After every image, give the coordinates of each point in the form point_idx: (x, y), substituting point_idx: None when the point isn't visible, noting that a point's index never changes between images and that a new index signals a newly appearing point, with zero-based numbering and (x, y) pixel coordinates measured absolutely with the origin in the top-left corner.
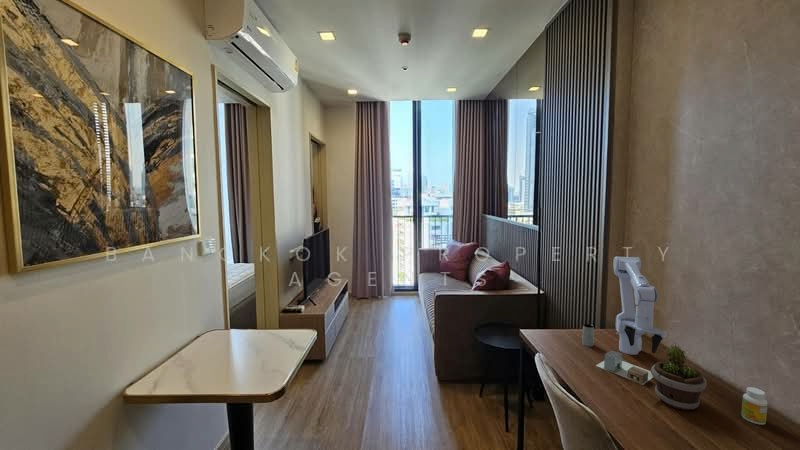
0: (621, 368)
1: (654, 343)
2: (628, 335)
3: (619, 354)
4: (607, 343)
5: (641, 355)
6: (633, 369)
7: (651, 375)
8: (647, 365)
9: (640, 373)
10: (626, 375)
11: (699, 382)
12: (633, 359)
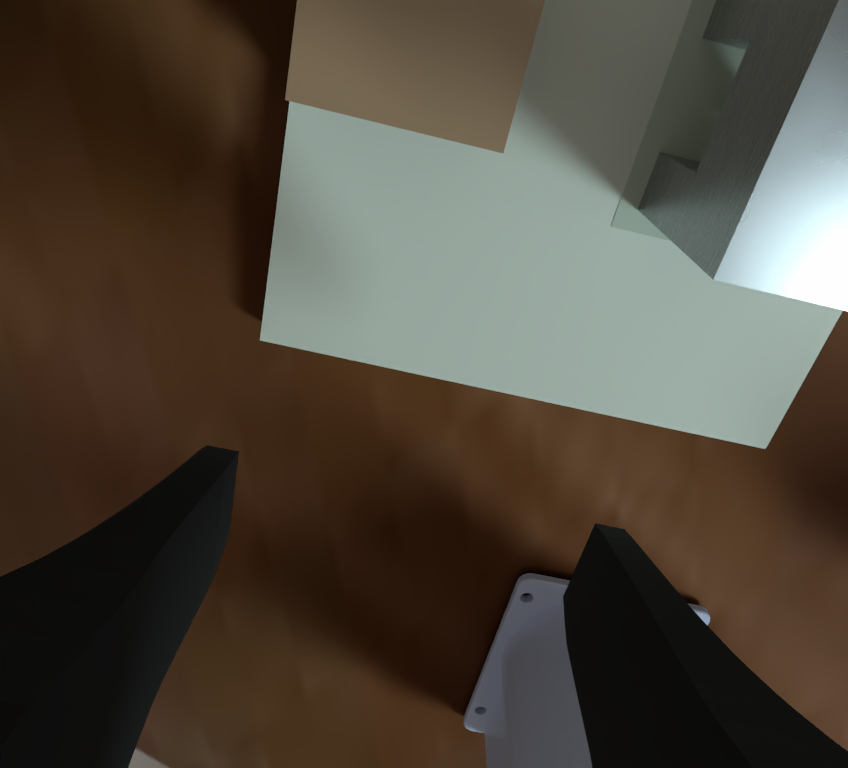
0: (640, 192)
1: (68, 580)
2: (755, 704)
3: (766, 223)
4: None
5: (474, 673)
6: (487, 3)
7: (301, 252)
8: (397, 518)
9: None
10: (567, 1)
11: None
12: (529, 562)
